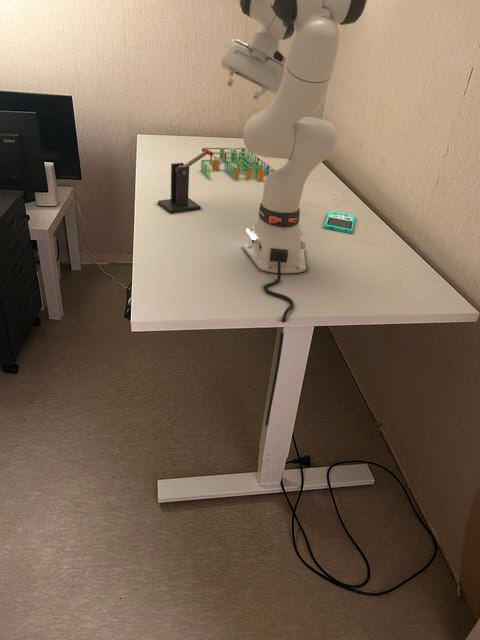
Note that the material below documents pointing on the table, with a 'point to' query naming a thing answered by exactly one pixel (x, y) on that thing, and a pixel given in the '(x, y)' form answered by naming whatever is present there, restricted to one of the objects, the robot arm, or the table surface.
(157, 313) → the table surface
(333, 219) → the handheld game console
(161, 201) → the bracket
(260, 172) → the house model
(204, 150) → the lever
